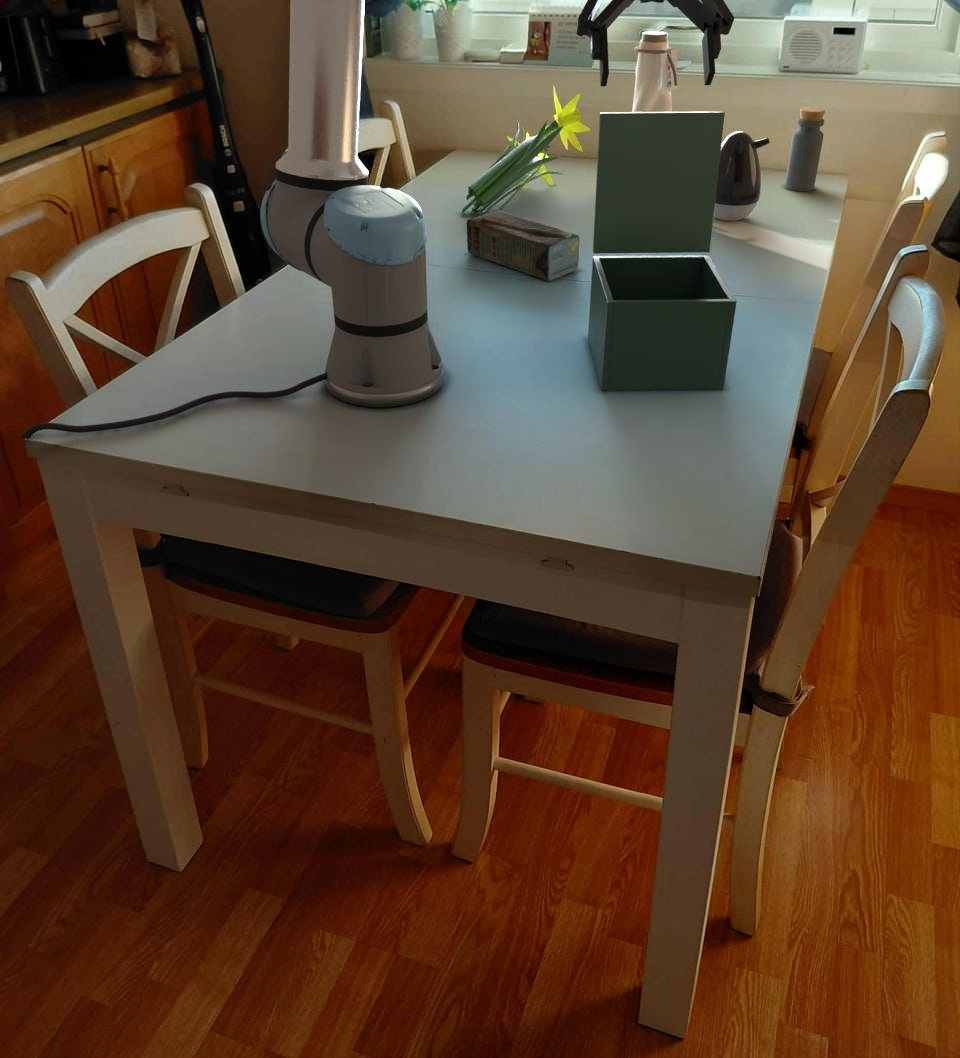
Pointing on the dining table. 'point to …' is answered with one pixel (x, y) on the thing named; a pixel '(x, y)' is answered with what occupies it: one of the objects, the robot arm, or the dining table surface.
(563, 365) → the dining table surface
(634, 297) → the bin
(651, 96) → the water bottle
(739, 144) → the pump dispenser
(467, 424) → the dining table surface
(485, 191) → the daffodil flowers
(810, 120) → the bottle
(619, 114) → the bin lid
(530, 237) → the beverage carton
